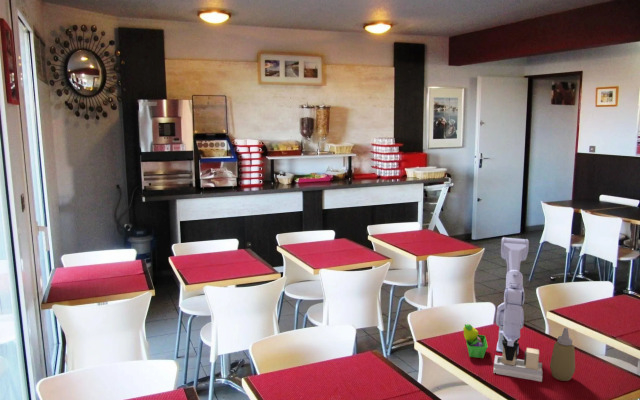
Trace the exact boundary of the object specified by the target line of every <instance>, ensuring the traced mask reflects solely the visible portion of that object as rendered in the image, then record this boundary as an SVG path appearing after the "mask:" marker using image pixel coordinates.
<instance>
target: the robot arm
mask: <svg viewBox="0 0 640 400" xmlns="http://www.w3.org/2000/svg"><path fill="white" fill-rule="evenodd" d="M500 242H501V243H500V245H501V246H500V256H501V259H504V260H505V261H506V275H505V289H504V294H503V302H501V304H499V305H498V306H497V307H496V308H497V310H496V319H495V321H496V322H495V324H496V326H498V327H499V328H498V341H497V343H496V350H495V351H496V352H499V353H503V346H504V349H505V356H506V360H509V361H513V358H514V354H515V351H516V349H517V348H518V350H519V348H520V347H519V346H520V343H519V340H520V338H521V329H523V328H524V323H525V322H524V320H525V319H524V316H525V314H524V309H523V306H524V304H525V290H524V289H525V288H524V280H523V279H524V278H523V277H524V276H523V274H522V272H520V270H521V262H523V261H526V260H527V258H528V254H529V247H530V241H529V239H528V238H525V239H524V238H514V237H505V236H503V237H502V238H501V241H500ZM514 342H517V343H514ZM518 355H519V351H518V352H517V356H518Z"/></svg>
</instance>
